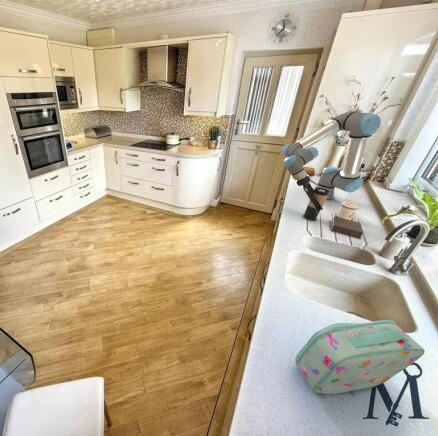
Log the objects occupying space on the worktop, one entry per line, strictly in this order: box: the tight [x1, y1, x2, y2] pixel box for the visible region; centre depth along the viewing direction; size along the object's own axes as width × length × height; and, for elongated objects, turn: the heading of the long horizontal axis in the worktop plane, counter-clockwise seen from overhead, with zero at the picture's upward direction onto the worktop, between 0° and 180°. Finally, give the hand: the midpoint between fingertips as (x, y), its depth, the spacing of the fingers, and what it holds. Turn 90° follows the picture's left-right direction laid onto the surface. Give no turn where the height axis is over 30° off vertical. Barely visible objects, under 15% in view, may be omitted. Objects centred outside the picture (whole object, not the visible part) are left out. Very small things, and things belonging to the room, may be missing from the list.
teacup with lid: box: [335, 200, 359, 221], centre depth 156 cm, size 12×9×12 cm
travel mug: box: [303, 187, 329, 221], centre depth 150 cm, size 8×8×20 cm
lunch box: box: [294, 319, 426, 396], centre depth 64 cm, size 27×10×21 cm, turn 99°
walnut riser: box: [330, 215, 364, 239], centre depth 143 cm, size 14×14×4 cm
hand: (320, 207), depth 149 cm, fingers closed on travel mug, 8 cm apart
